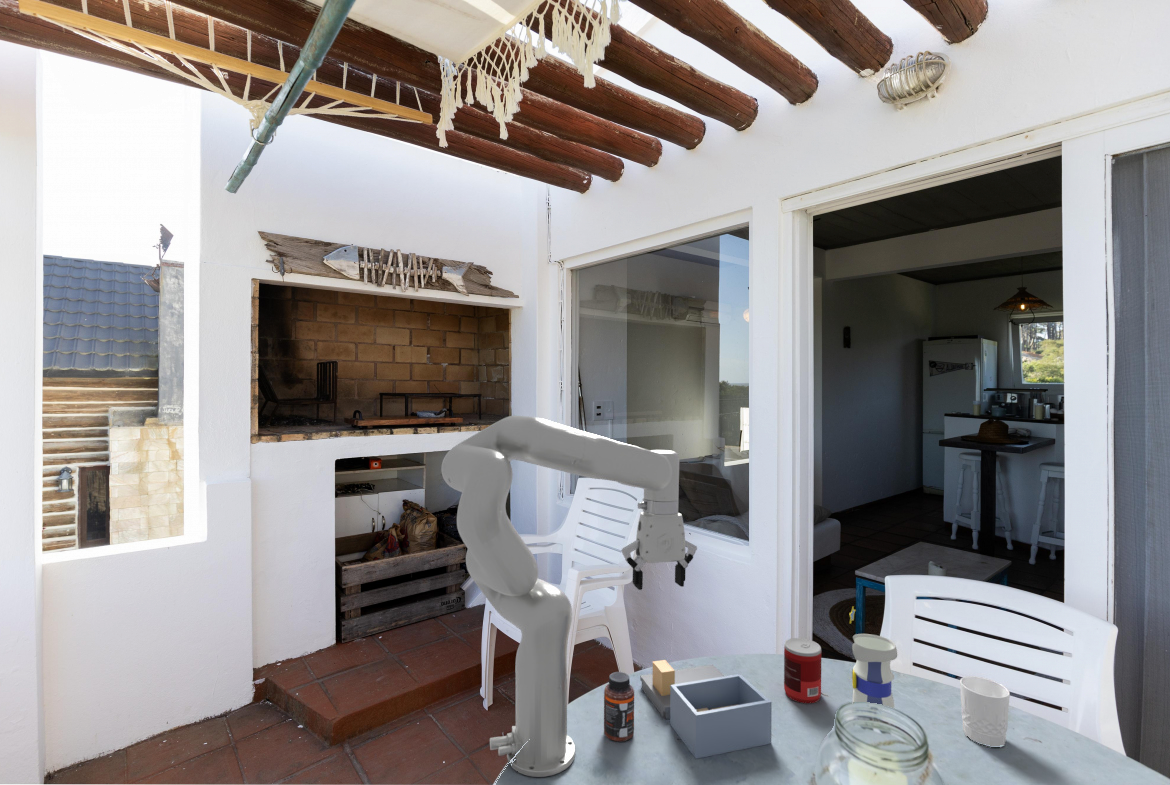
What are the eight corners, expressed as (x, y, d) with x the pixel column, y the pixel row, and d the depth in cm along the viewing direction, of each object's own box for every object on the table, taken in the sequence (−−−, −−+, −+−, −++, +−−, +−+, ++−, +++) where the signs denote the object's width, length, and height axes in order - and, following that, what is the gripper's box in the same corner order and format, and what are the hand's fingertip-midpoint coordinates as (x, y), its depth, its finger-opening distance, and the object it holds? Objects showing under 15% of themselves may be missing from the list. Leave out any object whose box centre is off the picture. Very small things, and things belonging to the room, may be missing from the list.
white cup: (965, 720, 115) (965, 672, 115) (1012, 737, 110) (1013, 686, 109) (955, 737, 110) (955, 686, 110) (1005, 756, 104) (1005, 702, 104)
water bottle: (849, 749, 106) (850, 617, 106) (847, 724, 114) (848, 601, 114) (899, 760, 103) (900, 624, 102) (893, 734, 111) (894, 607, 110)
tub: (695, 758, 103) (696, 715, 103) (670, 724, 114) (670, 685, 114) (771, 743, 108) (771, 701, 108) (739, 711, 118) (740, 673, 118)
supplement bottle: (632, 745, 107) (632, 686, 107) (601, 741, 108) (601, 682, 108) (635, 726, 113) (635, 670, 113) (606, 723, 114) (606, 667, 114)
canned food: (824, 691, 126) (824, 642, 126) (817, 708, 119) (817, 656, 119) (788, 681, 130) (788, 634, 130) (780, 697, 124) (780, 647, 124)
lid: (664, 719, 115) (665, 683, 115) (640, 686, 128) (640, 653, 128) (743, 705, 120) (743, 670, 120) (712, 675, 133) (712, 643, 133)
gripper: (629, 512, 116) (627, 595, 116) (704, 509, 121) (703, 589, 121) (617, 505, 123) (615, 583, 123) (689, 502, 128) (687, 578, 128)
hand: (658, 586), depth 122 cm, fingers open, 9 cm apart
